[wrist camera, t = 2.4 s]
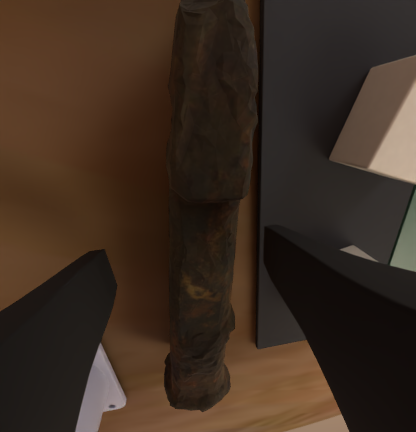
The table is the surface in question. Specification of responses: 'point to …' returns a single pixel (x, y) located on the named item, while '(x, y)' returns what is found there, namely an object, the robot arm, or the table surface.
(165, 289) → the table surface
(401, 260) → the dustpan
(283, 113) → the desk mat
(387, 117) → the beige rectangular prism
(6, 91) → the table surface
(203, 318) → the dark brown rough bar
